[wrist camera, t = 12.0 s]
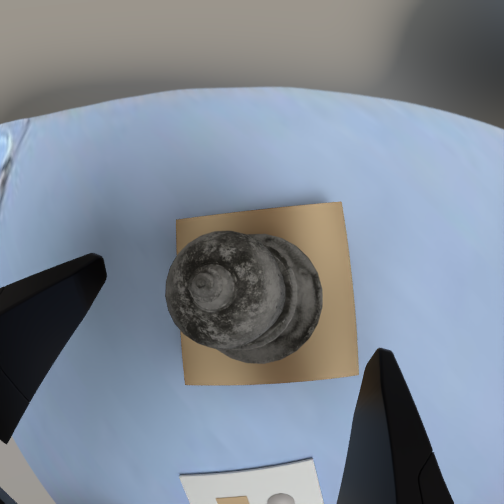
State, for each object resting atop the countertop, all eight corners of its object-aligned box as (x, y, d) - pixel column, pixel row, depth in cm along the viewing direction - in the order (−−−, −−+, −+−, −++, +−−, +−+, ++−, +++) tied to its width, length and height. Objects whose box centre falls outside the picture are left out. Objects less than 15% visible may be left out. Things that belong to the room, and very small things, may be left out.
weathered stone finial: (338, 289, 17) (425, 249, 5) (273, 373, 16) (229, 489, 5) (254, 228, 18) (188, 96, 6) (192, 309, 18) (37, 301, 6)
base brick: (199, 375, 20) (184, 385, 17) (191, 231, 22) (176, 219, 19) (349, 365, 19) (358, 374, 16) (335, 216, 21) (341, 201, 18)
